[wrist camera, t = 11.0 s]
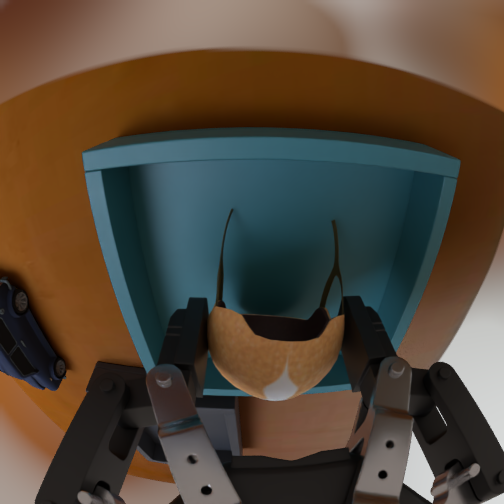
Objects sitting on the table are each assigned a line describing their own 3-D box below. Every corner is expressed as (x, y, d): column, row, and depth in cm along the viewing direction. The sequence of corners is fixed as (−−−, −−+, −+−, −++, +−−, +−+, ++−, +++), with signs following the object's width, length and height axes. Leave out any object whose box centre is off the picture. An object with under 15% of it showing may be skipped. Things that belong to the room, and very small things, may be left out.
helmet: (221, 223, 16) (209, 364, 15) (213, 185, 9) (195, 417, 8) (321, 234, 16) (309, 369, 16) (375, 206, 10) (353, 418, 9)
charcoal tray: (96, 361, 20) (85, 390, 17) (236, 374, 20) (235, 409, 17) (152, 440, 29) (148, 460, 26) (242, 448, 29) (242, 470, 26)
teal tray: (115, 137, 11) (80, 152, 8) (423, 144, 11) (461, 160, 9) (163, 355, 19) (154, 390, 16) (366, 352, 19) (378, 385, 16)
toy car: (32, 361, 21) (11, 401, 16) (-22, 264, 15) (-59, 305, 10) (72, 372, 21) (52, 419, 16) (15, 267, 15) (-28, 317, 10)
